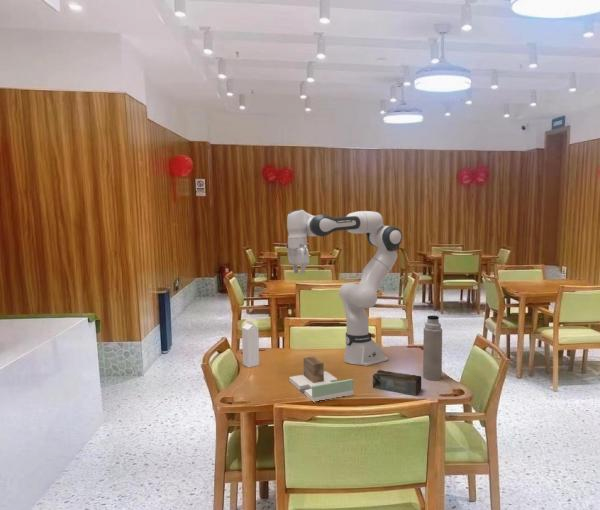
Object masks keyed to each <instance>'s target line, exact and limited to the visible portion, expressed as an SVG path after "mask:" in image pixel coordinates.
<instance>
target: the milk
mask: <svg viewBox="0 0 600 510" xmlns="http://www.w3.org/2000/svg"><path fill="white" fill-rule="evenodd" d="M241 338H242V339H241V341H242V343H241V344H242V345H241V346H242V365H243V366H244V367H247V368H252V367H256V366H260V350H259V349H260V345H259V340H260V339H259V327H258V326H256V325H254V321H250V320H246V323H245V324H244V325H243V326H242V327H241Z"/></svg>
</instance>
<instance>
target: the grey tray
mask: <svg viewBox="0 0 600 510" xmlns="http://www.w3.org/2000/svg"><path fill="white" fill-rule="evenodd" d="M289 382H290V383H291V384H292V385H293V386H294V387H295V388H296V389H297V390H298V391H299V392H301V393H302V394H303V395H304V396H305V395H306V396H307V397H306V396H305V397H306V398H307V399H309V398H310V399H311V400H312V401H313V402H314V403H316V402H315V401H319V400H325V399H330V400H332V399H331V398H335V399H337V398H336V397H340V398H343V397H342V396H345V397H350V396H353V395H354V379H353V378H349V379H344V380H338V378H337V377H335V376H334V375H333V374H332V373H330V372H328V371H326V370H324V381H322V382H317V383H313V382H311V381H310V380H309V379H308V378H306V377H305V376H304V374H298V375H293V376H289ZM310 399H309V400H310ZM311 400H310V401H311ZM312 401H311V402H312ZM325 401H326V400H325ZM313 402H312V403H313Z"/></svg>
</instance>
